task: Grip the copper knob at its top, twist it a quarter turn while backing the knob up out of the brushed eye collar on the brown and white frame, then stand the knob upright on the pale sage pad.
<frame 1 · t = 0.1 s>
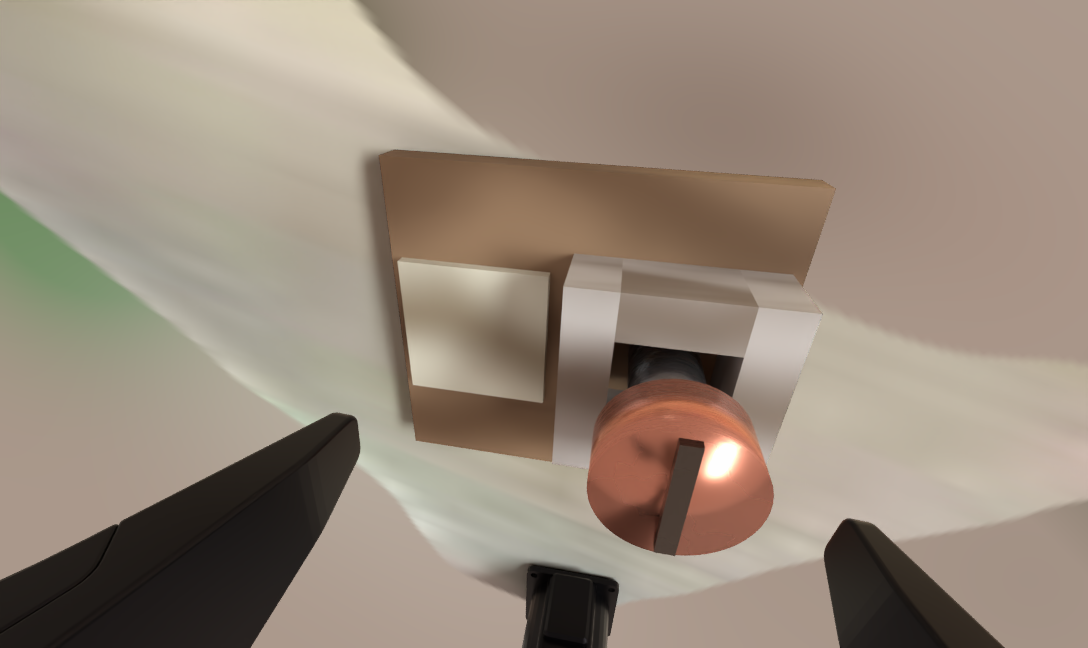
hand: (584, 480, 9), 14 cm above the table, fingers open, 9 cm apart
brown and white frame: (581, 328, 24), on the table
copper knob: (663, 353, 22), point 1 cm above the table, touching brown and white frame
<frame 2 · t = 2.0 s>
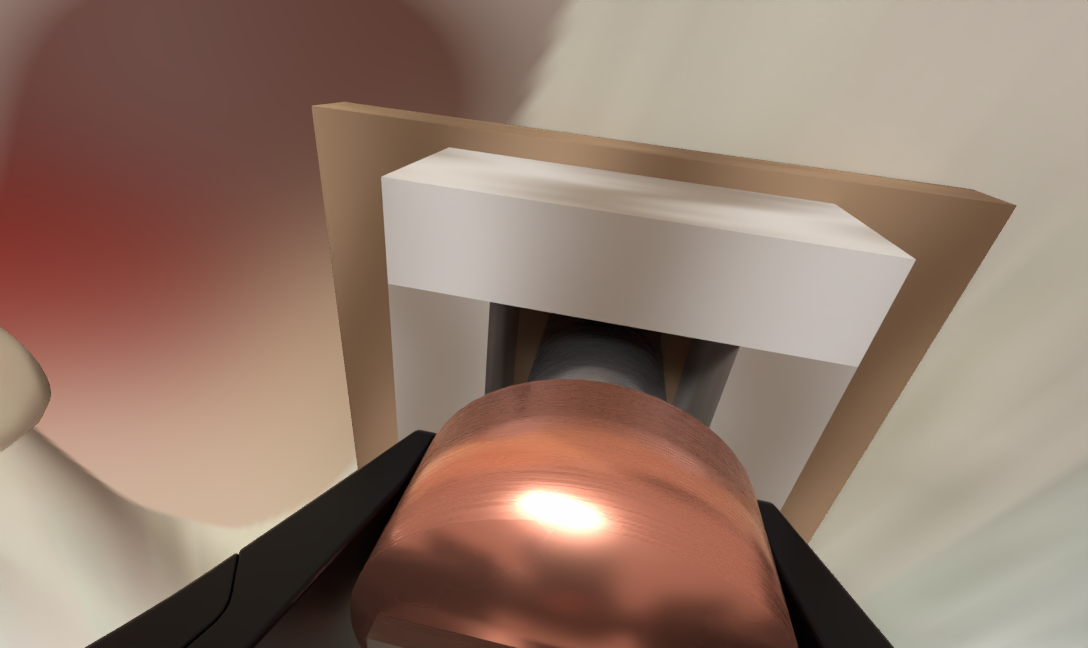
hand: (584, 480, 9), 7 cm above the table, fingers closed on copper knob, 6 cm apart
plastic bottle: (11, 351, 20), on the table
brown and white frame: (585, 413, 16), on the table
copper knob: (601, 338, 13), point 2 cm above the table, touching gripper, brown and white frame
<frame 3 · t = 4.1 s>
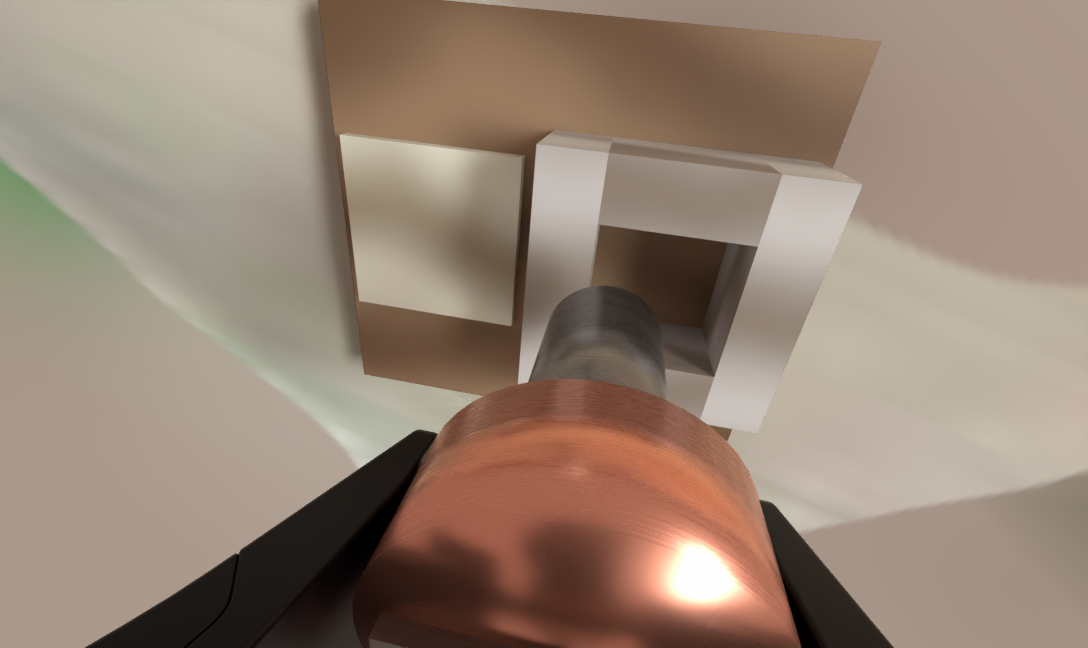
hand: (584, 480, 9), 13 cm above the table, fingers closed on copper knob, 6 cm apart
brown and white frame: (560, 239, 20), on the table
copper knob: (603, 337, 13), point 8 cm above the table, touching gripper
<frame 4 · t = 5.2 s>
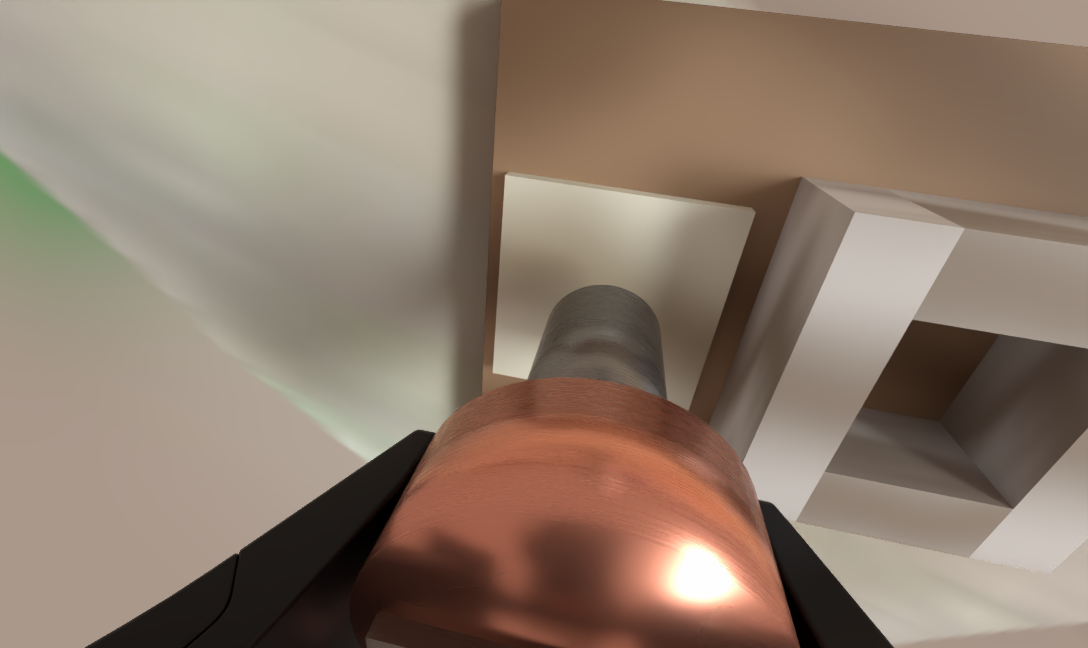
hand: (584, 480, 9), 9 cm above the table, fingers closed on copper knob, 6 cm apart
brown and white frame: (753, 303, 16), on the table
copper knob: (602, 337, 13), point 4 cm above the table, touching gripper
when the fingers open (8 cm above the table, at t = 6.2 s): copper knob stays where it is, resting on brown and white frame.
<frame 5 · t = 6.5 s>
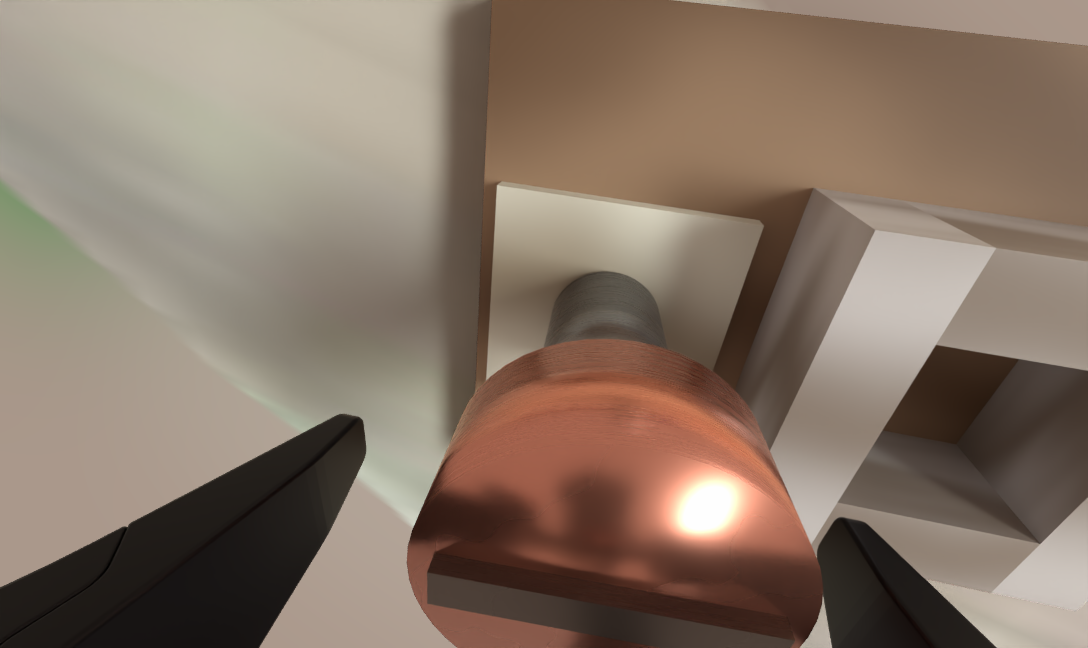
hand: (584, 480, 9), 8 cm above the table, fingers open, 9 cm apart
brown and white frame: (759, 318, 15), on the table
copper knob: (604, 322, 14), point 2 cm above the table, touching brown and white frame
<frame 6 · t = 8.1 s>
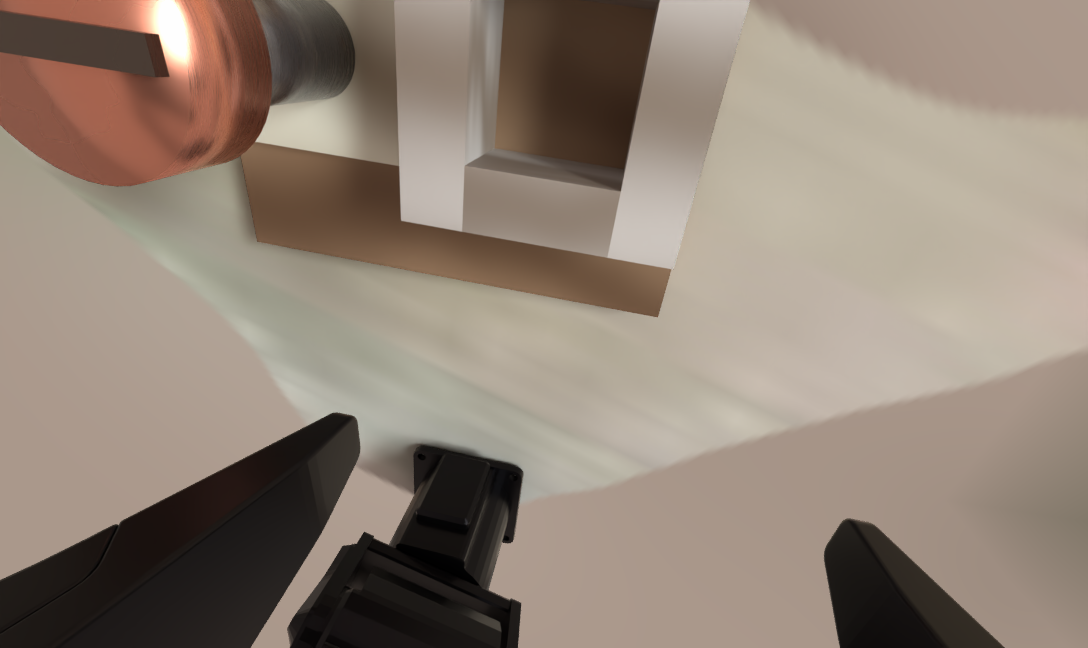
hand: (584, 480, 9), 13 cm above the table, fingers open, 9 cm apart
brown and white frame: (468, 68, 17), on the table
copper knob: (311, 48, 16), point 2 cm above the table, touching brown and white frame
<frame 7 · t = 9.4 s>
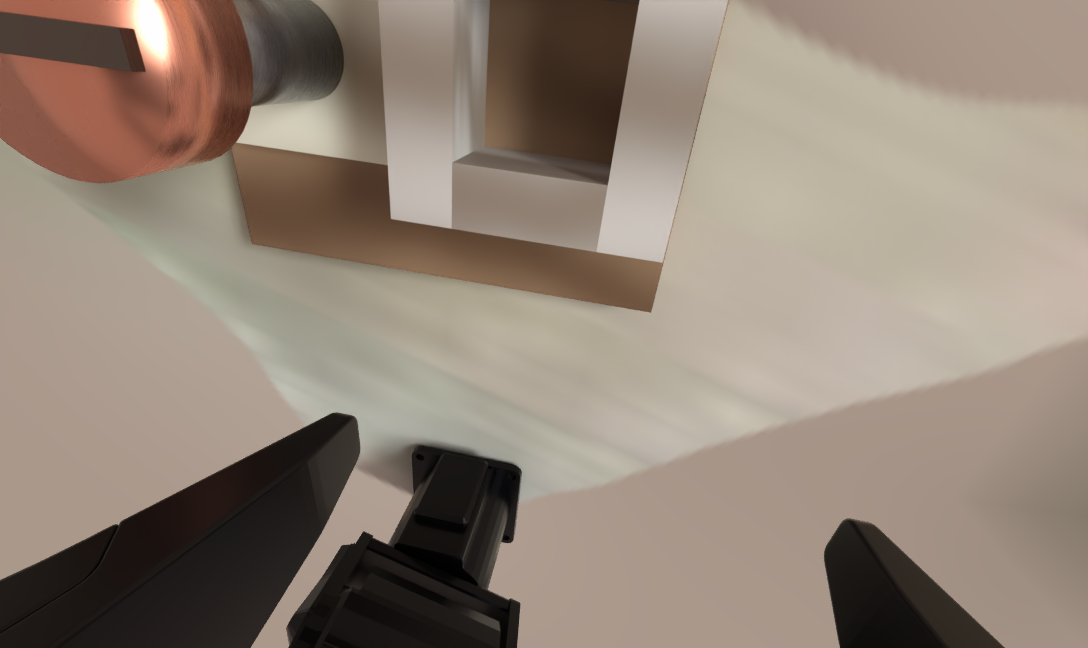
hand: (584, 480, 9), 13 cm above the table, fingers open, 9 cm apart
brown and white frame: (456, 67, 18), on the table
copper knob: (300, 49, 16), point 2 cm above the table, touching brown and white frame
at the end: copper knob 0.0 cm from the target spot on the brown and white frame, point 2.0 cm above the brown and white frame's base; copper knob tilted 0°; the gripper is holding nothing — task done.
